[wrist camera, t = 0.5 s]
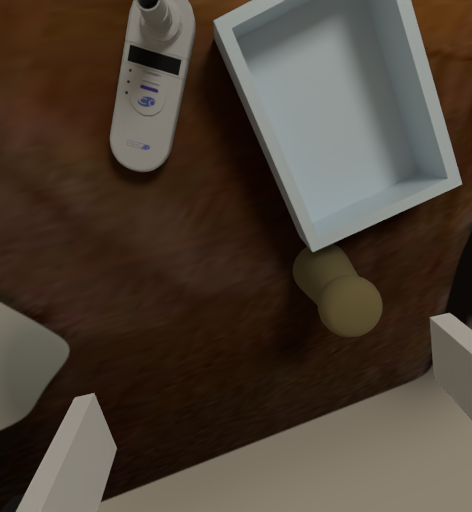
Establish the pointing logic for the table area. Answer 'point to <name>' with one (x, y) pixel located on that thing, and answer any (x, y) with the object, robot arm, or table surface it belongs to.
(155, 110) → the electronic device
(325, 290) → the cork
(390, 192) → the tote
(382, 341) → the table surface
